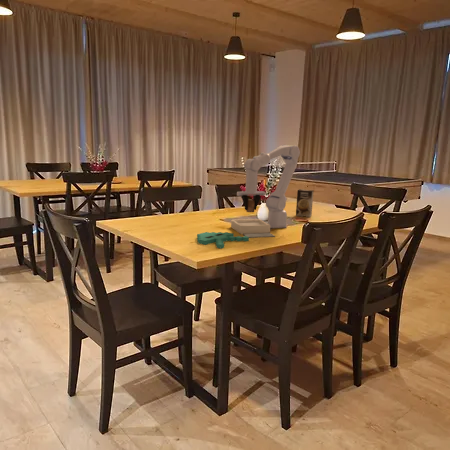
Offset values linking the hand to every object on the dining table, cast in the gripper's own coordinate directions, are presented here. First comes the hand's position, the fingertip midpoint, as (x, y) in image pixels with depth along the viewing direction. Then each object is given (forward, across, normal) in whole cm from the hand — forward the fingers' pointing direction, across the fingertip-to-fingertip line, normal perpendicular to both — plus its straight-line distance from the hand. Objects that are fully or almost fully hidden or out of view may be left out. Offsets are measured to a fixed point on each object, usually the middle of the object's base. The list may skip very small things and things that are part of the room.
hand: (250, 209), depth 209 cm
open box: (+10, 0, -1) cm, 10 cm away
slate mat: (+10, 0, -13) cm, 17 cm away
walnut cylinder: (+1, 0, 0) cm, 1 cm away
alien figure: (+11, -22, -19) cm, 31 cm away
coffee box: (+11, +47, +32) cm, 58 cm away
